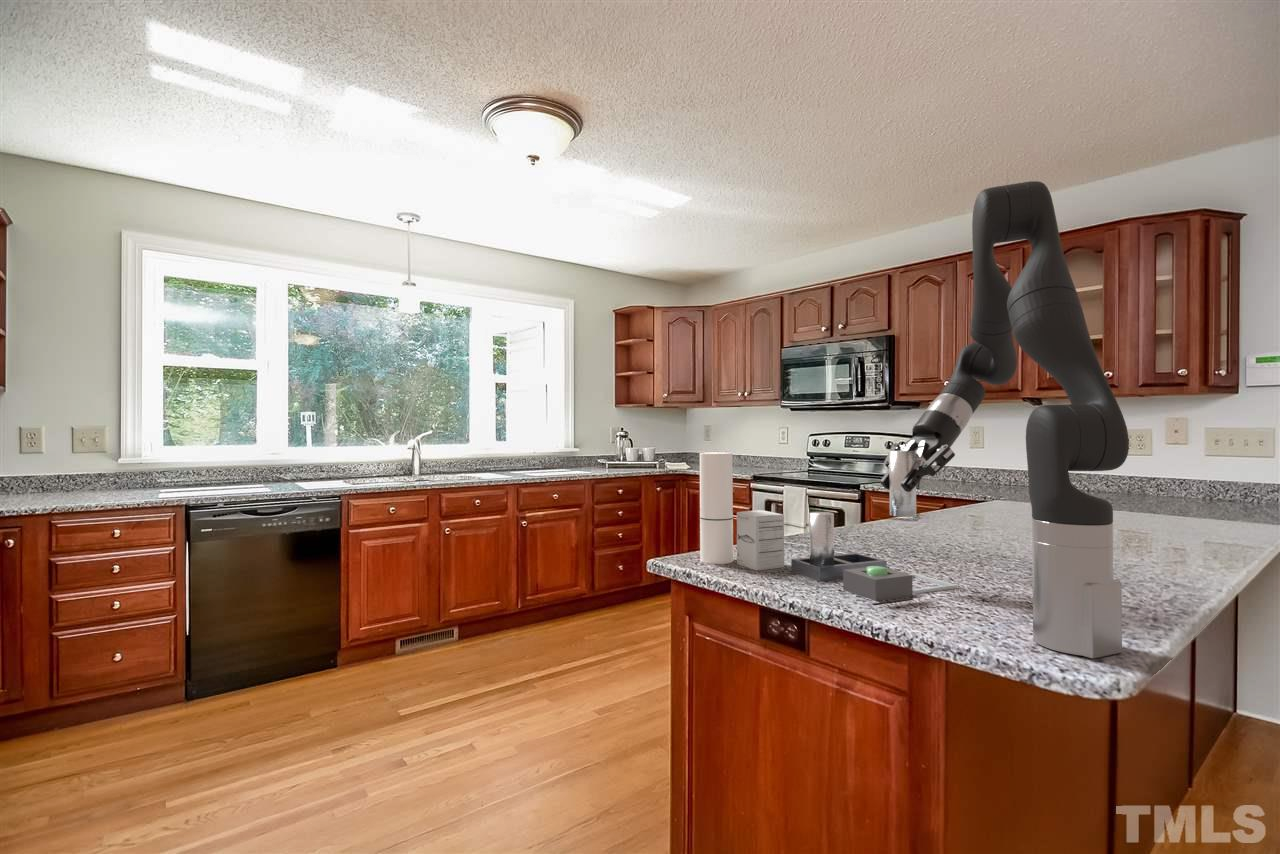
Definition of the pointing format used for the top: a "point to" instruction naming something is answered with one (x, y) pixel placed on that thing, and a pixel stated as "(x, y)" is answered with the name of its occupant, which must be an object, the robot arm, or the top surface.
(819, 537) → the cylinder
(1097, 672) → the top surface
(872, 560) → the double-well grey tray
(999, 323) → the robot arm
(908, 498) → the cylinder
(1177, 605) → the top surface
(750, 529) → the supplement box
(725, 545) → the cylindrical container
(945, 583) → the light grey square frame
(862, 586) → the block
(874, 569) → the button
